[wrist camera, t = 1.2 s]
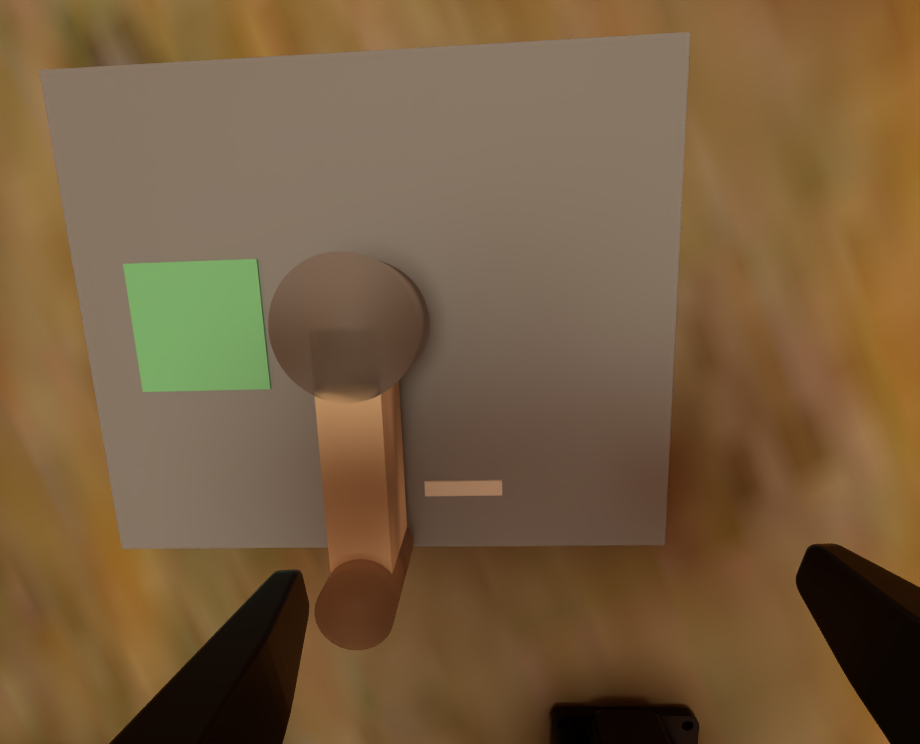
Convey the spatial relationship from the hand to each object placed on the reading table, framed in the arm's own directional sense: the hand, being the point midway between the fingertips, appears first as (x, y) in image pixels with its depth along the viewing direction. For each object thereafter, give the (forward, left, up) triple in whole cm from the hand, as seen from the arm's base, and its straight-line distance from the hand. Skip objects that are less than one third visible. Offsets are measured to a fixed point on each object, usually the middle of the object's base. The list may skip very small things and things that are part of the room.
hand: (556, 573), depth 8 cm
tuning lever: (0, +5, -9) cm, 10 cm away
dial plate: (+4, +5, -11) cm, 12 cm away
